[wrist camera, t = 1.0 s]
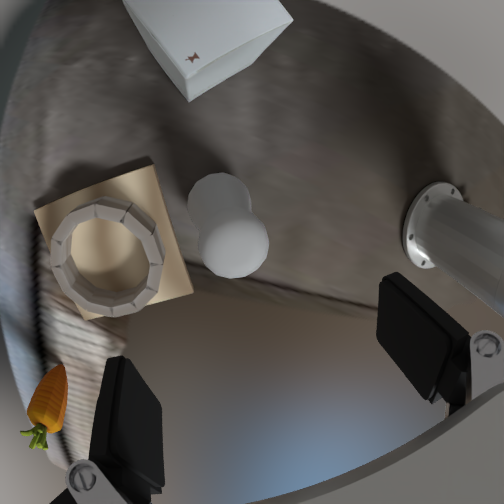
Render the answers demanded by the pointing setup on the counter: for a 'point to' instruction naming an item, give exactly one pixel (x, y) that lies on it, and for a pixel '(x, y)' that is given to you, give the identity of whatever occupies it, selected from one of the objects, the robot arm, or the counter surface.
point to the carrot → (47, 406)
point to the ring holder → (115, 245)
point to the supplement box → (206, 37)
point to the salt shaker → (227, 226)
